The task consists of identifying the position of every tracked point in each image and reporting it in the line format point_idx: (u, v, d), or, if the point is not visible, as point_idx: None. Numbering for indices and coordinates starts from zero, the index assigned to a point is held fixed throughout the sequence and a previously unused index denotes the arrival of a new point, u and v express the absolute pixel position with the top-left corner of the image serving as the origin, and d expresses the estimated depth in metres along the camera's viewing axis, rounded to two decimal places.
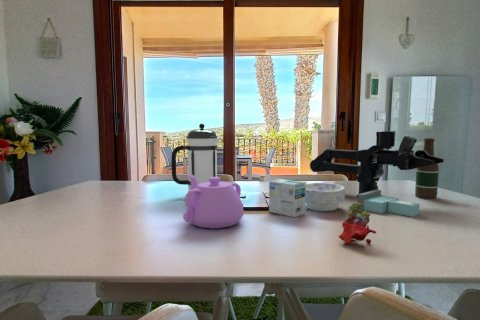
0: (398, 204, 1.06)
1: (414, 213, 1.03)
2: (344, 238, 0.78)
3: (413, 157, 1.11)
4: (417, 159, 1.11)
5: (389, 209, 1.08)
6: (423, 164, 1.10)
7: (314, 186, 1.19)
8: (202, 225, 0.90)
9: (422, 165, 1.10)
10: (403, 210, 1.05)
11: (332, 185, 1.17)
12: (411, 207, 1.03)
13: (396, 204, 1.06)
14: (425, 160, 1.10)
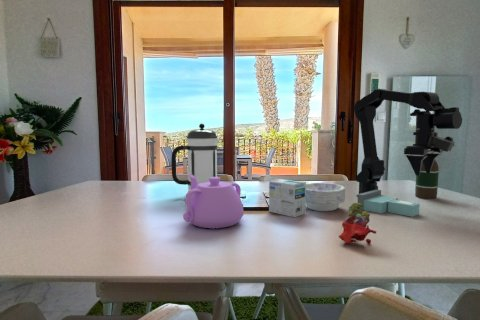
0: (398, 204, 1.06)
1: (414, 213, 1.03)
2: (344, 238, 0.78)
3: (420, 159, 1.06)
4: (419, 162, 1.07)
5: (389, 209, 1.08)
6: (414, 167, 1.08)
7: (314, 186, 1.19)
8: (202, 225, 0.90)
9: (412, 166, 1.09)
10: (403, 210, 1.05)
11: (332, 185, 1.17)
12: (411, 207, 1.03)
13: (396, 204, 1.06)
14: (418, 169, 1.08)
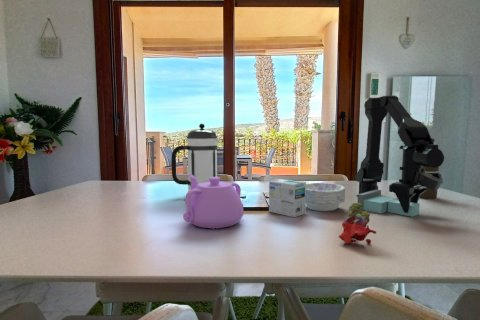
0: (398, 204, 1.06)
1: (414, 213, 1.03)
2: (344, 238, 0.78)
3: (408, 196, 1.01)
4: (407, 199, 1.02)
5: (389, 209, 1.08)
6: (402, 204, 1.04)
7: (314, 186, 1.19)
8: (202, 225, 0.90)
9: (401, 203, 1.04)
10: None
11: (332, 185, 1.17)
12: (411, 207, 1.03)
13: (396, 204, 1.06)
14: (407, 206, 1.03)
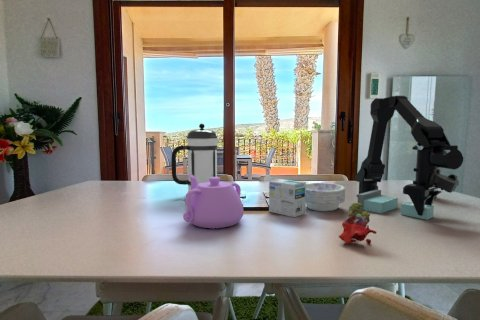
0: (412, 206, 1.02)
1: (429, 216, 1.00)
2: (344, 238, 0.78)
3: (423, 198, 0.98)
4: (421, 201, 0.99)
5: (402, 212, 1.05)
6: (416, 206, 1.00)
7: (314, 186, 1.19)
8: (202, 225, 0.90)
9: (415, 205, 1.01)
10: (417, 213, 1.01)
11: (332, 185, 1.17)
12: (426, 210, 0.99)
13: (410, 206, 1.03)
14: (421, 208, 0.99)
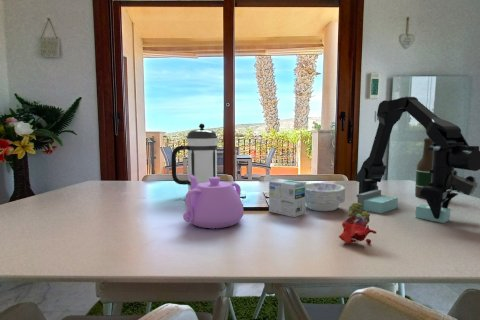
0: (427, 209, 0.99)
1: (446, 219, 0.97)
2: (344, 238, 0.78)
3: (440, 201, 0.94)
4: (438, 204, 0.95)
5: (417, 214, 1.01)
6: (432, 209, 0.97)
7: (314, 186, 1.19)
8: (202, 225, 0.90)
9: (431, 208, 0.97)
10: (433, 216, 0.98)
11: (332, 185, 1.17)
12: (442, 213, 0.96)
13: (425, 209, 0.99)
14: (438, 211, 0.96)
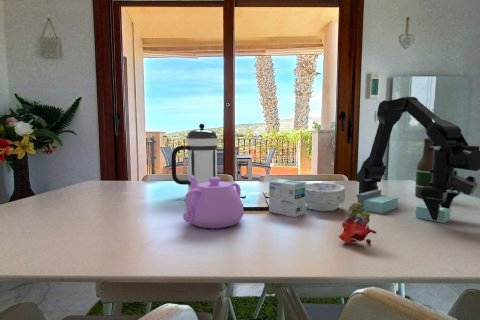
0: None
1: (446, 219, 0.97)
2: (344, 238, 0.78)
3: (438, 202, 0.93)
4: (436, 205, 0.94)
5: (417, 214, 1.01)
6: (430, 210, 0.96)
7: (314, 186, 1.19)
8: (202, 225, 0.90)
9: (429, 209, 0.96)
10: None
11: (332, 185, 1.17)
12: (442, 213, 0.96)
13: (425, 209, 0.99)
14: (436, 213, 0.95)
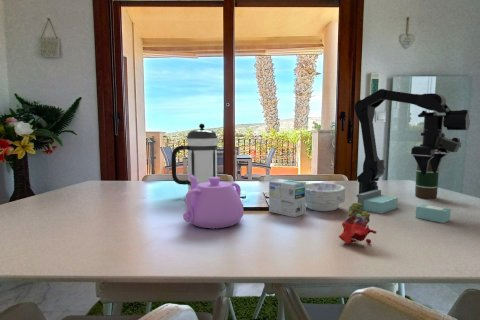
0: (428, 209, 0.99)
1: (446, 219, 0.97)
2: (344, 238, 0.78)
3: (427, 159, 1.09)
4: (425, 162, 1.10)
5: (417, 214, 1.01)
6: (421, 167, 1.12)
7: (314, 186, 1.19)
8: (202, 225, 0.90)
9: (419, 166, 1.12)
10: (433, 216, 0.98)
11: (332, 185, 1.17)
12: (442, 213, 0.96)
13: (425, 209, 0.99)
14: (425, 168, 1.11)
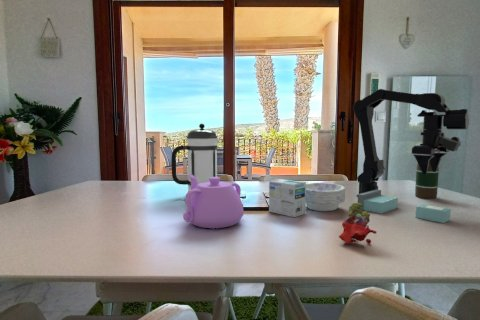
0: (428, 209, 0.99)
1: (446, 219, 0.97)
2: (344, 238, 0.78)
3: (427, 158, 1.10)
4: (426, 161, 1.11)
5: (417, 214, 1.01)
6: (421, 166, 1.12)
7: (314, 186, 1.19)
8: (202, 225, 0.90)
9: (420, 165, 1.13)
10: (433, 216, 0.98)
11: (332, 185, 1.17)
12: (442, 213, 0.96)
13: (425, 209, 0.99)
14: (425, 168, 1.12)
